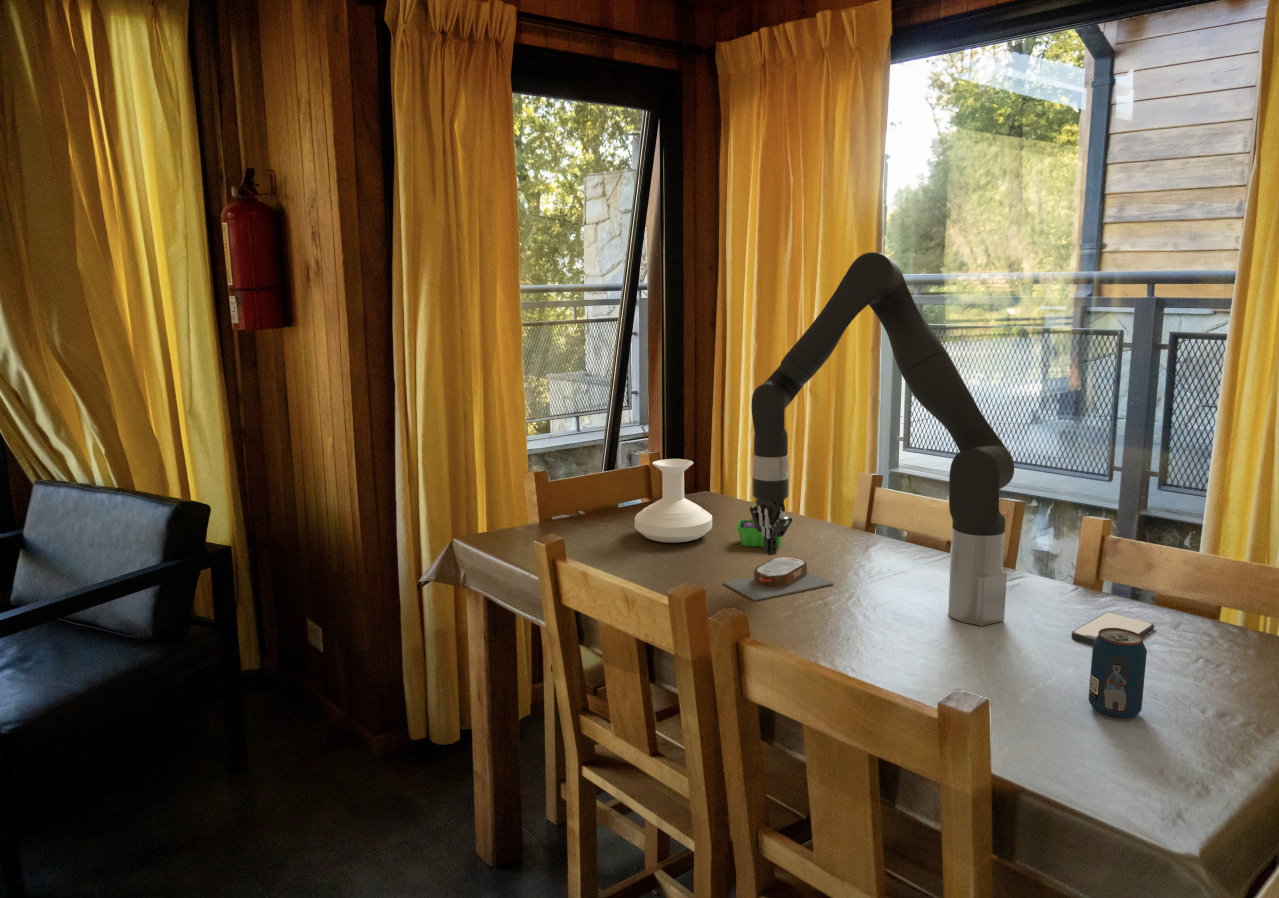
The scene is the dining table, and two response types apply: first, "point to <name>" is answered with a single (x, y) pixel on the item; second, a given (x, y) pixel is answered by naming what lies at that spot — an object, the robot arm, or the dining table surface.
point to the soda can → (1117, 674)
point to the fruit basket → (751, 533)
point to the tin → (780, 572)
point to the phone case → (1110, 620)
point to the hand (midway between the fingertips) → (770, 553)
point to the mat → (761, 592)
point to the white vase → (673, 509)
